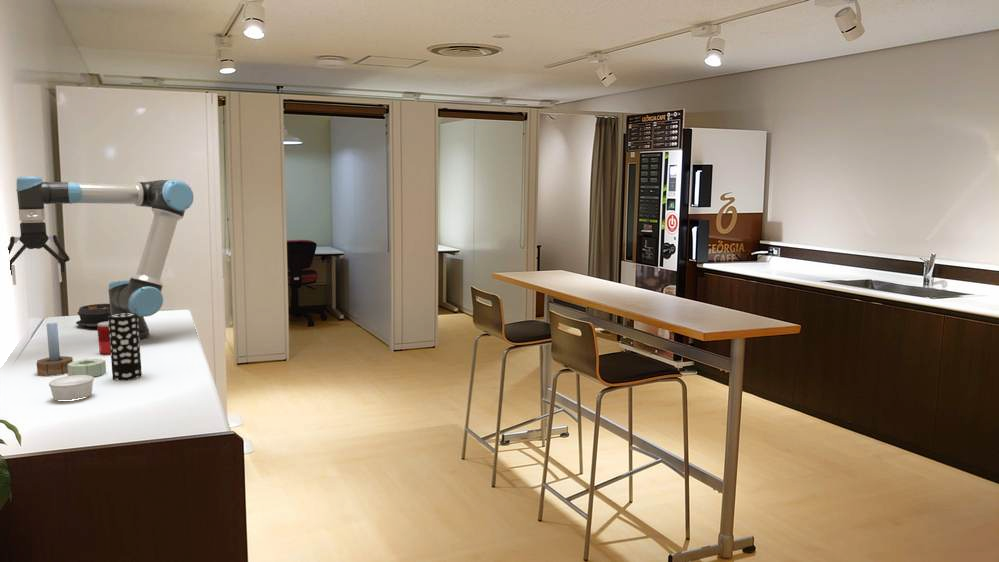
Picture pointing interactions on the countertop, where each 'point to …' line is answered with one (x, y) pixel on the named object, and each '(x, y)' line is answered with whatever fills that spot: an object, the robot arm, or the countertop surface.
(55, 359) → the dowel
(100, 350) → the canned food
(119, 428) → the countertop surface
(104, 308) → the casserole
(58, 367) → the walnut bead
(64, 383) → the ramekin
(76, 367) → the sage bead
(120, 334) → the spotted tube
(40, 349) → the countertop surface
